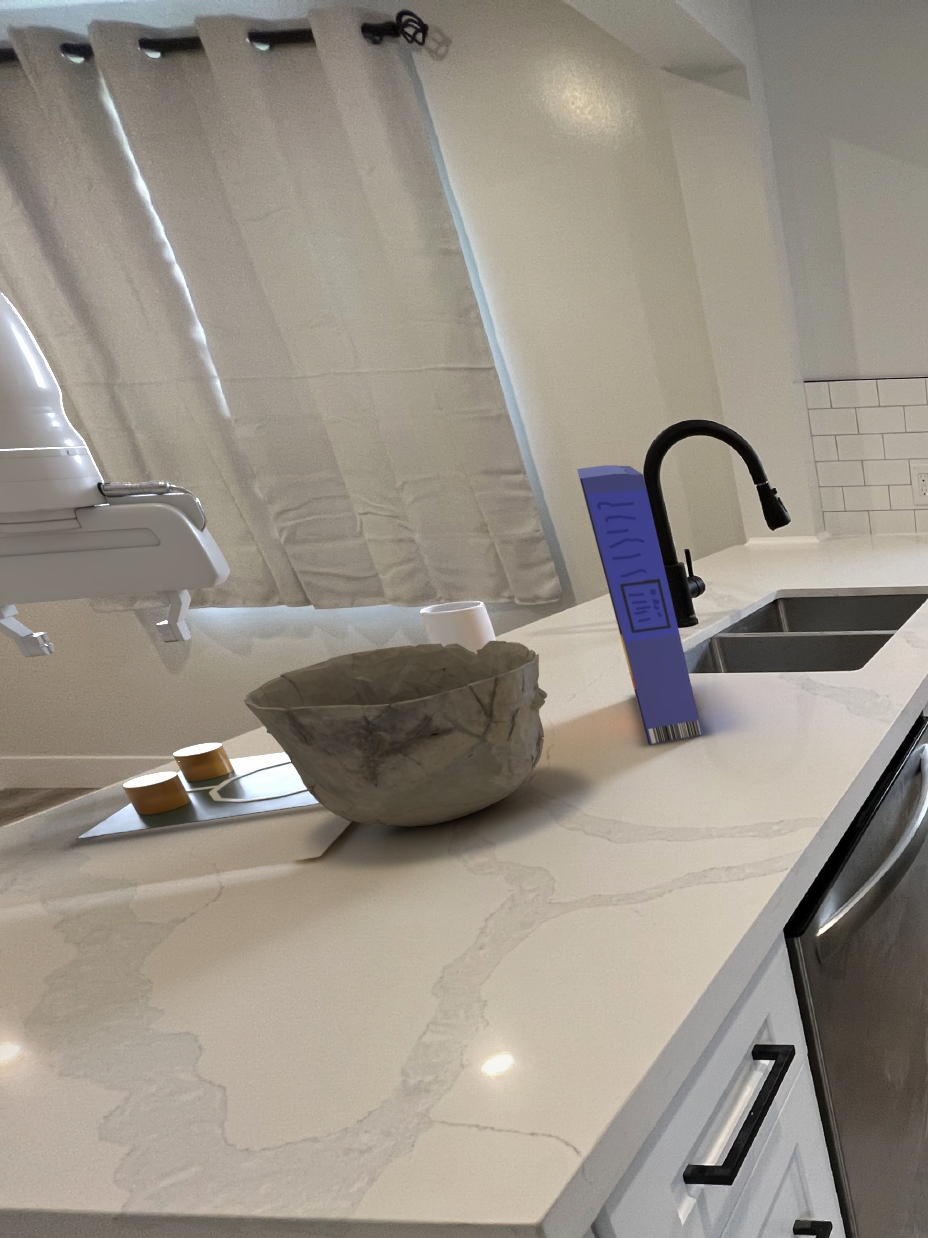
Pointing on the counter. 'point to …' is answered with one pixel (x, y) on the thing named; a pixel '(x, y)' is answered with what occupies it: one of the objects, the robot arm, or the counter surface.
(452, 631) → the white plastic cylinder
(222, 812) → the board
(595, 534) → the cereal box
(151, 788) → the orange white short cylinder
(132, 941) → the counter surface
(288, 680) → the bowl
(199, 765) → the short orange cylinder
